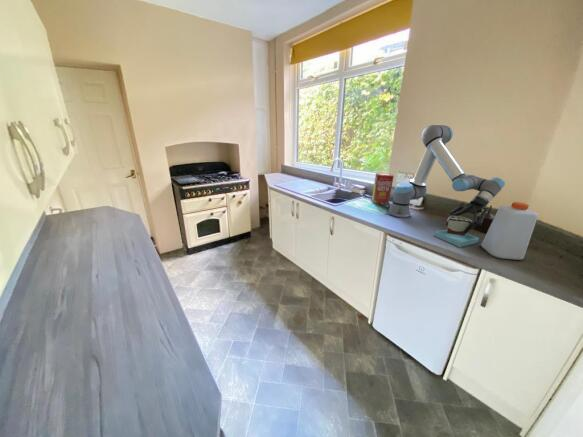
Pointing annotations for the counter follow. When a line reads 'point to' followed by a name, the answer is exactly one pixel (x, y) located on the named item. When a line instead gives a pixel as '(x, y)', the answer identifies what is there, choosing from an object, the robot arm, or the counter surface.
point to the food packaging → (382, 188)
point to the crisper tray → (457, 238)
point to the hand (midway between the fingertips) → (455, 228)
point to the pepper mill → (485, 221)
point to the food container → (457, 225)
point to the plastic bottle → (510, 231)
